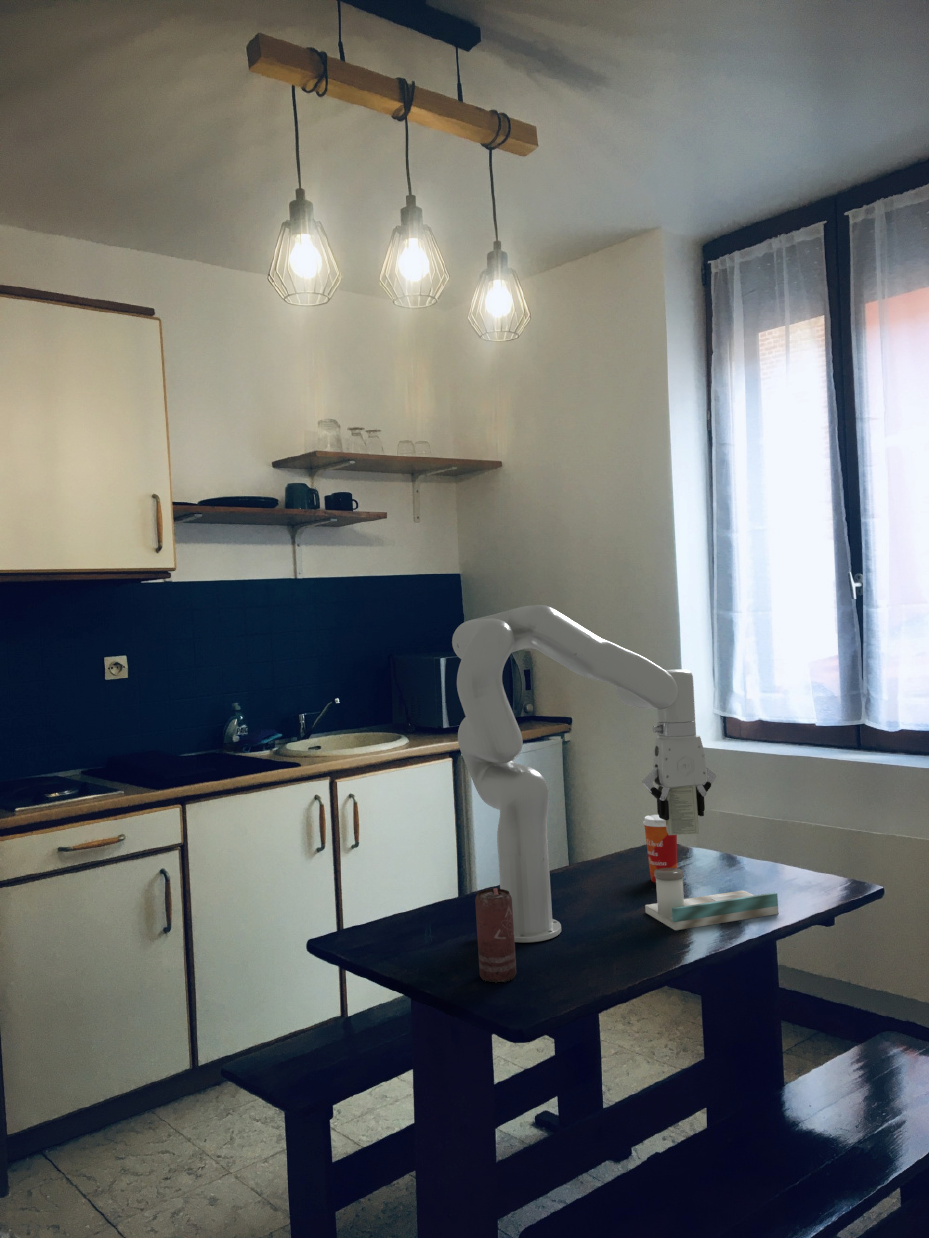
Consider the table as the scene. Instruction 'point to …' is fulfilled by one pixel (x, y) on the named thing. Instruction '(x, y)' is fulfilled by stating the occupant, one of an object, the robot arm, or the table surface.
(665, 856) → the paper cup
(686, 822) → the skincare box
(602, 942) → the table surface
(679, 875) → the cream jar
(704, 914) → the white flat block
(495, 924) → the can
